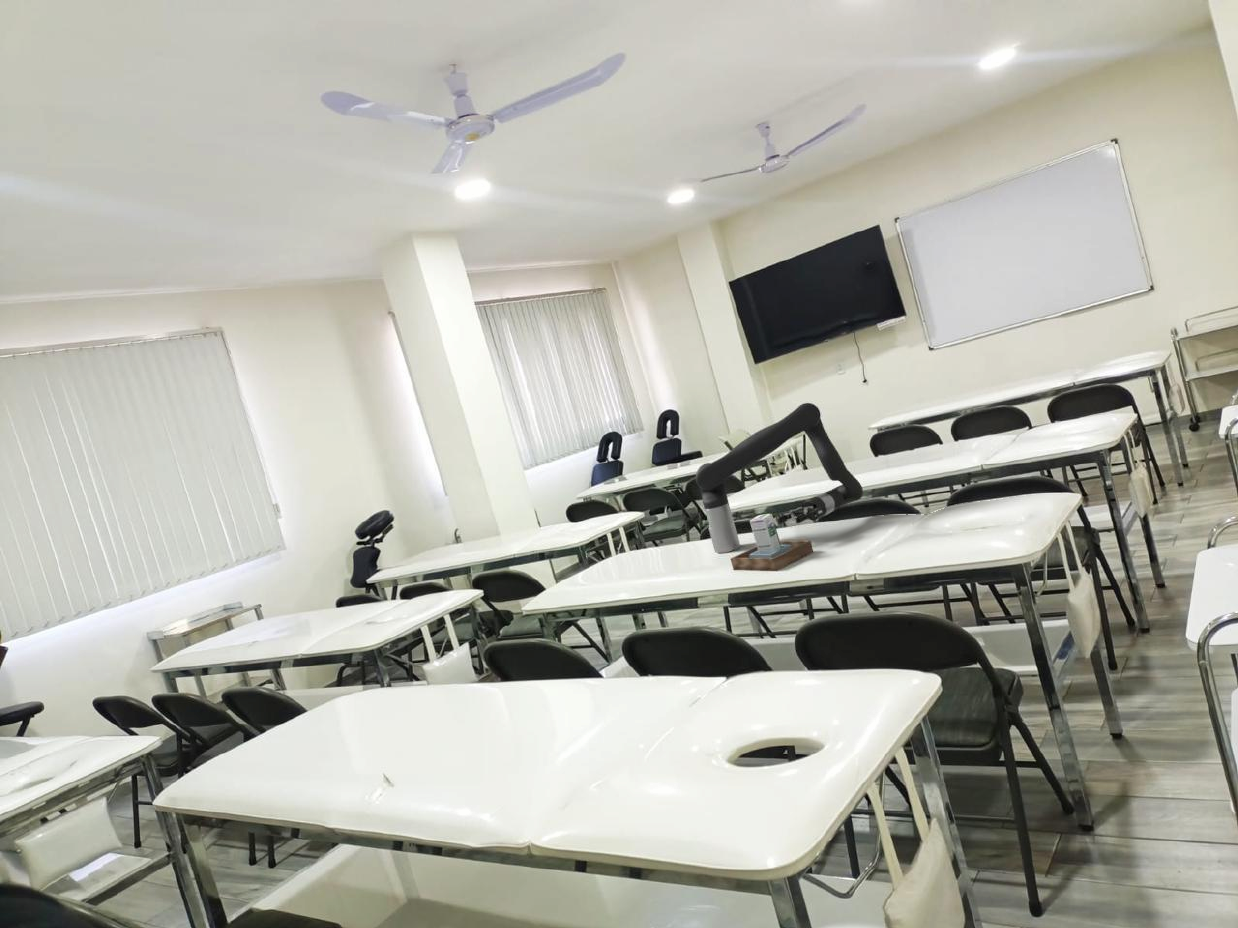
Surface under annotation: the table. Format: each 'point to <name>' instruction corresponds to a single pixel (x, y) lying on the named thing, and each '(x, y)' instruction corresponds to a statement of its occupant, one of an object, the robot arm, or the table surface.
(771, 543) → the syrup box
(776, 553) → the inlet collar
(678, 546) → the table surface
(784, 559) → the walnut tray
